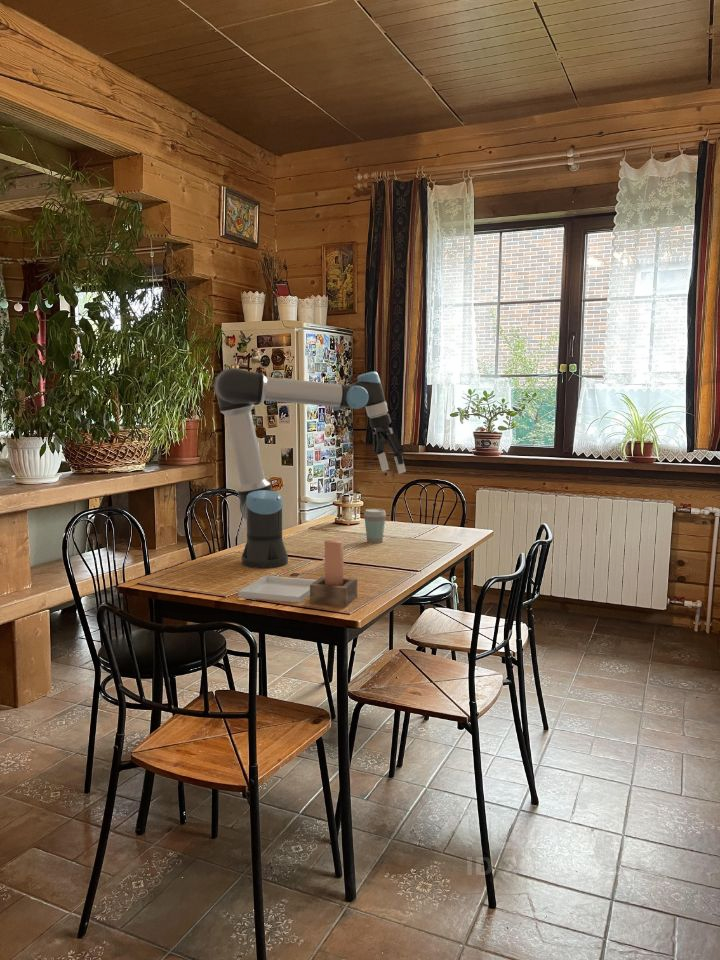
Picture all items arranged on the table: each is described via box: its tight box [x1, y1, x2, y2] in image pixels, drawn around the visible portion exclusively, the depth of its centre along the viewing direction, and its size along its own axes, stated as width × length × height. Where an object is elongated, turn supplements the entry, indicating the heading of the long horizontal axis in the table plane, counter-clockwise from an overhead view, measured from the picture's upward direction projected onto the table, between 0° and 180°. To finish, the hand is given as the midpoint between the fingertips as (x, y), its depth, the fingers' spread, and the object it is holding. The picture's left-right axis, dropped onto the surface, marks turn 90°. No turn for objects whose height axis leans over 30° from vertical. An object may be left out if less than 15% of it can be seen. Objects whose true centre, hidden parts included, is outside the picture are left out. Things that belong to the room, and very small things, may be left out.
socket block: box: [309, 575, 358, 608], centre depth 198 cm, size 10×10×6 cm
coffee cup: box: [363, 508, 387, 544], centre depth 279 cm, size 8×9×12 cm
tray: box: [237, 575, 317, 603], centre depth 207 cm, size 18×18×2 cm
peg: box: [324, 539, 344, 586], centre depth 198 cm, size 5×5×16 cm
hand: (393, 471), depth 267 cm, fingers open, 13 cm apart
